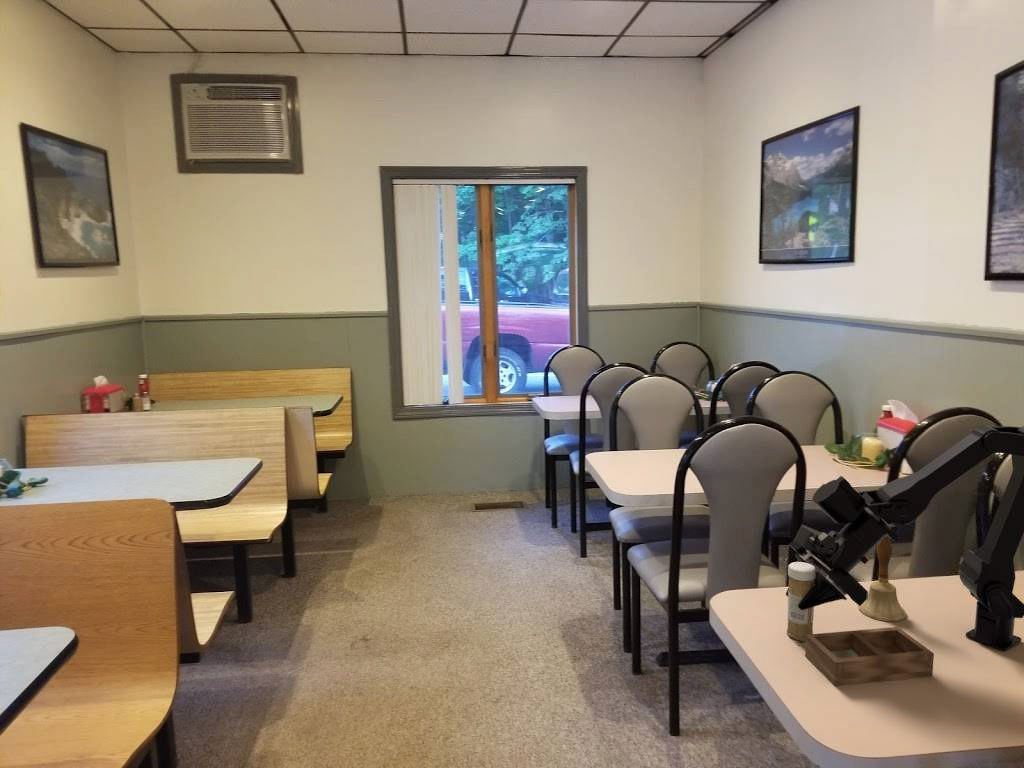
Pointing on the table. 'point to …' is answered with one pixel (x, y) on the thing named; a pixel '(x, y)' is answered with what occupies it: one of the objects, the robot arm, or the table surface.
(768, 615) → the table surface
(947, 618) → the table surface
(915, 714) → the table surface
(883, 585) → the hand bell
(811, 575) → the sprinkles bottle
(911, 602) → the table surface
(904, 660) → the wooden compartment tray
